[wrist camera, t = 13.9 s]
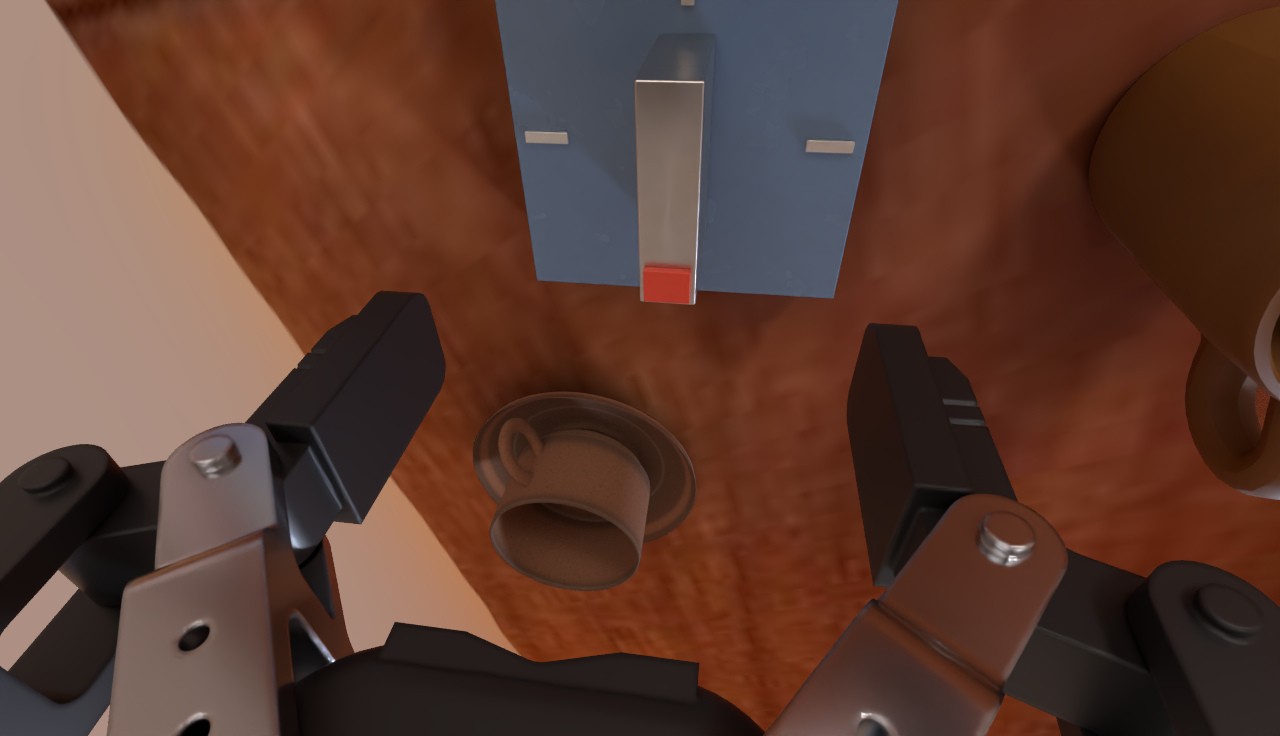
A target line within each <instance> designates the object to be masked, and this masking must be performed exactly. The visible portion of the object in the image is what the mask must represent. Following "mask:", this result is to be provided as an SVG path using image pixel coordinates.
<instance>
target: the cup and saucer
mask: <svg viewBox="0 0 1280 736" xmlns="http://www.w3.org/2000/svg"><path fill="white" fill-rule="evenodd" d="M473 462H474V467H475V471H476V473H477V476H478V478H479V480H480V482H481V484H482V486H483V487H484V489H485V490H486V492H487V493H488V494H489V495H490V497H491V498H492V499H493V500H494V501H495V502H496V503H497V504H498V505H499V506H498V508H497V511H496V513H495V516H494V518H493V520H492V523H491V526H490V539H491V542H492V545H493V547H494V549H495V550H496V552H497V553H498V555H499V556H500V557H501V558H502V559H503V560H504V561H505V562H506V563H507V564H508V565H510V566H511V567H512V568H514V569H515V570H516V571H518V572H520V573H521V574H523V575H525V576H527V577H529V578H531V579H533V580H535V581H538V582H540V583H543V584H546V585H549V586H553V587H557V588H562V589H567V590H575V591H597V590H604V589H609V588H613V587H616V586H618V585H620V584H622V583H624V582H626V581H627V580H629V579H630V578H631V577H632V576H633V575H634V574H635V573H636V571H637V569H638V567H639V564H640V558H641V551H642V544H643V543H645V542H649V541H652V540H655V539H658V538H660V537H662V536H664V535H666V534H668V533H669V532H671V531H673V530H674V529H675V528H677V527H678V526H679V525H680V524H681V523H682V522H683V521H684V520H685V519H686V518H687V516H688V515H689V513H690V511H691V510H692V507H693V505H694V502H695V498H696V478H695V473H694V469H693V466H692V463H691V460H690V458H689V456H688V454H687V453H686V451H685V449H684V448H683V446H682V445H681V444H680V442H679V441H678V440H677V439H676V438H675V437H674V436H673V435H672V434H671V433H670V432H669V431H668V430H667V429H666V428H665V427H664V426H662V425H661V424H660V423H659V422H657V421H656V420H654V419H653V418H651V417H650V416H648V415H646V414H645V413H643V412H641V411H639V410H637V409H635V408H633V407H631V406H629V405H627V404H624V403H621V402H619V401H616V400H613V399H610V398H607V397H602V396H598V395H593V394H587V393H579V392H546V393H539V394H534V395H530V396H526V397H523V398H520V399H517V400H515V401H513V402H510V403H508V404H507V405H505V406H503V407H502V408H500V409H499V410H498V411H496V412H495V413H494V414H493V415H492V416H491V417H490V418H489V419H488V420H487V421H486V422H485V424H484V425H483V426H482V428H481V429H480V431H479V433H478V435H477V437H476V440H475V442H474V448H473Z"/></svg>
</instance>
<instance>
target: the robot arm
mask: <svg viewBox="0 0 1280 736" xmlns="http://www.w3.org/2000/svg"><path fill="white" fill-rule="evenodd" d="M311 350H312V352H311V353H307V355H306V356H305V357H304V358H303V359H302V360H301V361H300V362H299V363H298V368H297V369H296V368H294V369H293V370H292V371H291V372H290V373H289V375H288V376H287V377H286V378H285V379H284V380H283V381H282V382H281V383H280V385H279V386H278V387H277V388H276V389H275V390H274V391H273V392H272V393H271V395H270V396H269V397H268V398H267V399H266V400H265V401H264V402H263V403H262V405H261V406H260V407H259V408H258V409H257V410H256V411H255V412H254V414H253V415H252V416H251V417H250V418H249V419H248V420H247V421H246V422H245V423H231V424H225V425H221V426H218V427H214V428H211V429H209V430H206V431H204V432H202V433H200V434H198V435H196V436H194V437H192V438H190V439H189V440H187V441H186V442H185V443H183V444H182V445H181V446H179V447H178V448H177V449H176V450H175V451H174V452H173V453H172V454H171V455H170V456H169V458H168V459H167V460H166V461H160V462H153V463H146V464H140V465H134V466H127V467H119V466H118V465H117V463H116V462H115V461H114V460H113V459H112V458H111V456H110V455H109V454H108V453H107V452H106V450H104V449H103V448H102V447H99V446H96V445H89V444H80V445H72V446H68V447H63V448H60V449H57V450H53V451H51V452H49V453H46V454H43V455H41V456H39V457H37V458H35V459H33V460H31V461H29V462H27V463H26V464H24V465H23V466H21V467H19V468H18V469H17V470H15V471H14V472H13V473H11V474H10V475H9V476H7V477H6V478H5V479H4V480H3V481H2V482H1V483H0V635H1V633H2V632H3V631H4V629H5V628H6V627H7V625H8V624H9V623H10V622H11V621H12V620H13V619H14V618H15V617H16V615H17V614H18V613H19V612H20V611H21V610H22V609H23V608H24V607H25V606H26V605H27V603H28V602H29V601H30V600H31V599H32V598H33V597H34V596H35V595H36V594H37V593H38V591H39V590H40V589H41V588H42V587H43V586H44V585H45V584H46V582H48V580H49V579H50V578H51V577H52V576H53V575H54V574H55V573H56V571H57V570H59V571H60V572H61V573H62V574H64V575H65V576H66V577H67V578H68V579H69V580H70V581H71V582H73V583H74V584H75V585H76V586H77V587H78V588H79V589H78V590H77V591H76V593H75V594H74V595H73V596H72V597H71V598H70V600H69V601H68V602H67V603H66V604H65V605H64V607H63V608H62V609H61V610H60V611H59V612H58V614H57V615H56V616H55V617H54V618H53V619H52V621H51V622H50V623H49V624H48V625H47V626H46V628H45V629H44V630H43V631H42V632H41V633H40V635H39V636H38V637H37V638H36V639H35V641H34V642H33V643H32V644H31V645H30V646H29V647H28V649H27V650H26V651H25V652H24V653H23V654H22V656H21V657H20V658H19V659H18V660H17V662H16V663H15V664H14V665H13V666H12V667H11V668H10V670H9V671H6V670H5V669H3V668H2V667H1V666H0V736H88V735H89V733H90V732H91V730H92V729H93V728H94V726H95V725H96V723H97V722H98V720H99V719H100V718H101V716H102V715H103V713H104V712H105V710H106V709H107V708H108V706H109V705H110V711H109V721H108V729H107V736H985V735H986V733H987V731H988V729H989V727H990V725H991V724H992V722H993V720H994V718H995V716H996V714H997V712H998V710H999V708H1000V706H1001V704H1002V701H1003V699H1004V696H1005V694H1006V695H1008V696H1011V697H1013V698H1015V699H1017V700H1020V701H1022V702H1024V703H1026V704H1029V705H1031V706H1033V707H1036V708H1038V709H1040V710H1042V711H1045V712H1047V713H1049V714H1051V715H1054V716H1056V718H1057V722H1058V725H1059V728H1060V732H1061V735H1062V736H1280V608H1279V607H1278V606H1277V605H1276V604H1275V603H1274V602H1273V601H1272V600H1271V599H1270V598H1268V597H1267V596H1266V595H1265V594H1263V593H1262V592H1261V591H1259V590H1258V589H1257V588H1255V587H1254V586H1252V585H1251V584H1249V583H1247V582H1246V581H1244V580H1243V579H1241V578H1239V577H1237V576H1235V575H1233V574H1231V573H1229V572H1227V571H1224V570H1222V569H1220V568H1217V567H1214V566H1211V565H1208V564H1204V563H1199V562H1194V561H1184V560H1180V561H1171V562H1167V563H1164V564H1162V565H1160V566H1158V567H1157V568H1156V569H1155V570H1154V571H1153V572H1152V573H1151V574H1150V575H1149V576H1148V577H1147V578H1145V577H1142V576H1139V575H1136V574H1134V573H1131V572H1128V571H1125V570H1122V569H1119V568H1116V567H1114V566H1111V565H1108V564H1105V563H1102V562H1099V561H1096V560H1094V559H1091V558H1088V557H1085V556H1083V555H1080V554H1078V553H1075V552H1073V551H1071V550H1070V549H1068V548H1066V547H1065V544H1064V542H1063V540H1062V539H1061V537H1060V535H1059V534H1058V532H1057V531H1056V530H1055V529H1054V527H1053V526H1052V525H1051V524H1050V523H1049V522H1048V521H1047V520H1046V519H1045V518H1043V517H1042V516H1041V515H1039V514H1038V513H1037V512H1035V511H1034V510H1032V509H1031V508H1029V507H1027V506H1026V505H1024V504H1021V503H1019V502H1018V501H1017V498H1016V496H1015V493H1014V491H1013V488H1012V486H1011V483H1010V481H1009V479H1008V476H1007V474H1006V471H1005V469H1004V466H1003V464H1002V461H1001V459H1000V456H999V454H998V451H997V449H996V447H995V444H994V442H993V439H992V437H991V434H990V432H989V429H988V427H985V419H984V417H983V415H982V412H981V410H980V407H977V403H978V402H977V400H976V397H975V395H974V392H973V390H972V388H971V385H970V383H969V380H968V379H967V378H966V377H965V376H964V375H963V374H962V373H961V372H960V371H959V370H958V369H957V368H956V367H955V366H954V365H953V364H952V363H951V362H950V361H949V360H948V359H947V358H942V357H928V355H927V352H926V349H925V347H924V344H923V341H922V338H921V335H920V332H919V330H918V328H917V327H916V326H907V325H892V324H876V323H870V324H869V325H868V326H867V328H866V330H865V333H864V337H863V340H862V344H861V348H860V352H859V356H858V359H857V363H856V367H855V371H854V374H853V378H852V382H851V386H850V390H849V395H848V402H847V425H848V432H849V438H850V444H851V450H852V456H853V463H854V469H855V475H856V481H857V487H858V493H859V500H860V506H861V512H862V518H863V524H864V531H865V537H866V543H867V549H868V555H869V562H870V568H871V574H872V580H873V585H874V586H882V587H888V588H887V589H886V591H885V592H884V593H883V594H882V596H881V597H880V598H879V599H878V600H875V599H872V600H870V601H869V602H868V603H867V604H866V605H865V606H864V607H863V608H862V610H861V611H860V612H859V613H858V615H857V616H856V617H855V618H854V620H853V621H852V622H851V623H850V625H849V626H848V627H847V629H846V630H845V631H844V632H843V634H842V635H841V636H840V638H839V639H838V640H837V641H836V643H835V644H834V645H833V647H832V648H831V649H830V650H829V652H828V653H827V654H826V656H825V657H824V658H823V659H822V661H821V662H820V663H819V665H818V666H817V667H816V668H815V670H814V671H813V672H812V673H811V675H810V676H809V677H808V679H807V680H806V681H805V682H804V684H803V685H802V686H801V688H800V689H799V690H798V691H797V693H796V694H795V695H794V697H793V698H792V699H791V700H790V702H789V703H788V704H787V706H786V707H785V708H784V709H783V711H782V712H781V713H780V715H779V716H778V717H777V718H776V720H775V721H774V722H773V724H772V725H771V726H770V727H769V729H768V730H767V731H766V733H765V732H764V731H763V730H762V729H761V728H760V727H759V726H758V725H757V724H756V723H755V722H754V721H753V720H752V719H751V718H750V717H749V716H748V715H746V714H745V713H744V712H742V711H741V710H740V709H739V708H737V707H736V706H735V705H733V704H732V703H730V702H729V701H727V700H725V699H724V698H722V697H720V696H719V695H717V694H715V693H713V692H711V691H709V690H707V689H704V688H702V687H700V686H698V673H699V663H695V662H688V661H681V660H673V659H666V658H658V657H651V656H643V655H636V654H629V653H621V652H620V653H613V654H605V655H597V656H589V657H581V658H574V659H566V660H558V661H550V662H534V661H531V660H528V659H526V658H524V657H522V656H519V655H517V654H515V653H512V652H510V651H508V650H506V649H504V648H501V647H499V646H497V645H495V644H492V643H490V642H488V641H486V640H484V639H481V638H479V637H477V636H475V635H473V634H470V633H468V632H465V631H458V630H450V629H443V628H436V627H428V626H421V625H414V624H406V623H398V622H395V623H394V625H393V627H392V629H391V632H390V634H389V636H388V638H387V640H386V642H385V645H384V646H379V647H375V648H371V649H367V650H363V651H359V652H356V653H354V651H353V648H352V646H351V643H350V641H349V637H348V634H347V630H346V626H345V621H344V615H343V610H342V605H341V600H340V594H339V589H338V583H337V579H336V573H335V567H334V562H333V557H332V552H331V547H330V543H329V541H328V539H327V537H326V535H325V534H326V532H327V531H328V529H329V527H330V526H331V524H332V523H333V521H336V522H344V523H353V524H362V522H363V520H364V519H365V517H366V515H367V513H368V512H369V510H370V508H371V507H372V505H373V503H374V502H375V500H376V498H377V496H378V495H379V493H380V491H381V490H382V488H383V486H384V485H385V483H386V481H387V479H388V478H389V476H390V474H391V473H392V471H393V469H394V468H395V466H396V464H397V463H398V461H399V459H400V458H401V456H402V454H403V452H404V451H405V449H406V447H407V446H408V444H409V442H410V441H411V439H412V437H413V435H414V434H415V432H416V430H417V429H418V427H419V425H420V424H421V422H422V420H423V419H424V417H425V415H426V413H427V412H428V410H429V408H430V407H431V405H432V403H433V402H434V400H435V398H436V397H437V395H438V393H439V391H440V390H441V388H442V385H443V382H444V377H445V358H444V354H443V351H442V347H441V344H440V340H439V337H438V333H437V330H436V326H435V323H434V319H433V316H432V313H431V309H430V306H429V303H428V300H427V299H426V297H425V296H424V295H423V294H421V293H410V292H395V291H380V292H378V293H376V294H375V295H374V297H373V298H372V299H371V300H370V301H369V302H368V304H367V305H366V306H365V307H364V308H363V309H362V310H361V312H360V313H359V314H358V315H352V316H351V317H349V318H348V319H346V320H344V321H343V322H341V323H339V324H338V325H336V326H335V327H333V328H331V329H330V330H328V331H327V332H326V333H325V335H324V336H323V337H322V338H321V339H320V340H319V341H318V342H317V343H316V345H315V346H314V347H313V348H312V349H311Z"/></svg>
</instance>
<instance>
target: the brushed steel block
mask: <svg viewBox="0 0 1280 736" xmlns="http://www.w3.org/2000/svg"><path fill="white" fill-rule="evenodd" d="M715 40H716V36H715V35H714V34H659V36H658V38H657V39H656V41H655V43H654V45H653V47H652V49H651V51H650V53H649V55H648V56H647V58H646V60H645V62H644V64H643V66H642V68H641V70H640V72H639V73H638V75H637V77H636V79H635V82H634V84H635V124H636V164H637V204H638V244H639V284H640V301H642V302H656V303H671V304H687V305H694V304H695V303H696V295H697V288H698V281H699V273H700V266H701V259H702V251H703V244H704V237H705V229H706V210H707V191H708V173H709V154H710V135H711V116H712V97H713V78H714V59H715Z"/></svg>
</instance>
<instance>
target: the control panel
mask: <svg viewBox="0 0 1280 736" xmlns="http://www.w3.org/2000/svg"><path fill="white" fill-rule="evenodd" d="M898 1H899V0H495V4H496V11H497V18H498V24H499V31H500V38H501V44H502V51H503V57H504V64H505V71H506V77H507V84H508V91H509V97H510V104H511V111H512V117H513V124H514V130H515V137H516V144H517V150H518V157H519V164H520V170H521V177H522V183H523V190H524V197H525V203H526V210H527V217H528V223H529V230H530V236H531V243H532V250H533V256H534V263H535V270H536V276H537V280H540V281H556V282H572V283H589V284H605V285H621V286H637V287H640V284H639V244H638V204H637V164H636V124H635V84H634V82H635V79H636V77H637V75H638V73H639V72H640V70H641V68H642V66H643V64H644V62H645V60H646V58H647V56H648V55H649V53H650V51H651V49H652V47H653V45H654V43H655V41H656V39H657V38H658V36H659V34H714V35H715V36H716V40H715V59H714V78H713V97H712V116H711V135H710V154H709V173H708V191H707V210H706V229H705V237H704V244H703V251H702V259H701V266H700V273H699V281H698V288H697V290H702V291H718V292H735V293H751V294H767V295H783V296H800V297H816V298H833V297H834V294H835V289H836V284H837V280H838V275H839V271H840V266H841V262H842V257H843V252H844V248H845V243H846V239H847V234H848V229H849V225H850V220H851V216H852V211H853V207H854V202H855V197H856V193H857V188H858V184H859V179H860V175H861V170H862V165H863V161H864V156H865V152H866V147H867V143H868V138H869V133H870V129H871V124H872V120H873V115H874V110H875V106H876V101H877V97H878V92H879V88H880V83H881V78H882V74H883V69H884V65H885V60H886V56H887V51H888V46H889V42H890V37H891V33H892V28H893V24H894V19H895V14H896V10H897V5H898Z"/></svg>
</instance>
